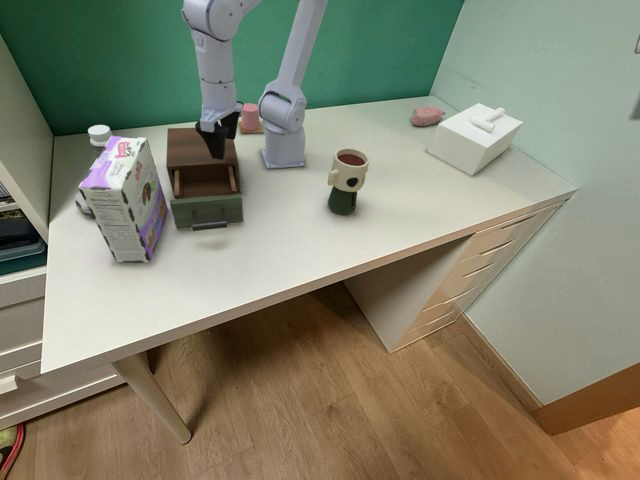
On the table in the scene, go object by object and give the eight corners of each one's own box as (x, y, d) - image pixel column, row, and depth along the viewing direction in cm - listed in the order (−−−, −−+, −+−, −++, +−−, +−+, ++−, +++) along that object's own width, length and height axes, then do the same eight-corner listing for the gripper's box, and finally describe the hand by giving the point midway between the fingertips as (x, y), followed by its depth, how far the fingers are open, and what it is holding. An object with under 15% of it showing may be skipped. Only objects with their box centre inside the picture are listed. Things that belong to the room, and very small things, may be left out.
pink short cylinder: (262, 125, 93) (262, 106, 89) (253, 132, 90) (252, 113, 86) (248, 120, 94) (247, 101, 90) (238, 126, 91) (237, 107, 87)
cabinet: (240, 193, 72) (238, 162, 66) (174, 198, 69) (166, 166, 63) (233, 156, 82) (230, 126, 76) (174, 159, 78) (167, 128, 72)
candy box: (138, 209, 65) (110, 133, 53) (169, 210, 66) (148, 136, 54) (114, 263, 56) (74, 186, 44) (151, 263, 57) (121, 188, 45)
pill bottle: (115, 171, 72) (101, 137, 66) (95, 167, 73) (80, 132, 66) (128, 160, 76) (116, 126, 70) (109, 156, 76) (95, 122, 70)
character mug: (333, 225, 69) (344, 174, 59) (312, 206, 72) (319, 155, 63) (369, 207, 74) (383, 158, 65) (348, 190, 78) (359, 141, 68)
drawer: (246, 239, 62) (245, 214, 58) (176, 247, 59) (169, 222, 54) (235, 181, 74) (233, 157, 69) (176, 185, 70) (170, 160, 66)
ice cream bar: (453, 111, 107) (421, 116, 101) (447, 123, 110) (416, 129, 104) (440, 102, 110) (408, 107, 104) (435, 114, 114) (403, 119, 107)
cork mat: (259, 122, 95) (259, 120, 94) (263, 133, 91) (263, 131, 91) (238, 123, 93) (238, 121, 93) (241, 134, 89) (241, 132, 89)
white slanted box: (427, 151, 95) (441, 115, 87) (466, 128, 109) (482, 95, 101) (471, 175, 89) (491, 139, 81) (507, 148, 102) (527, 114, 95)
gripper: (227, 98, 50) (233, 171, 60) (250, 66, 61) (252, 133, 70) (182, 90, 50) (195, 165, 60) (213, 59, 60) (220, 128, 70)
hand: (224, 147), depth 65 cm, fingers open, 7 cm apart
